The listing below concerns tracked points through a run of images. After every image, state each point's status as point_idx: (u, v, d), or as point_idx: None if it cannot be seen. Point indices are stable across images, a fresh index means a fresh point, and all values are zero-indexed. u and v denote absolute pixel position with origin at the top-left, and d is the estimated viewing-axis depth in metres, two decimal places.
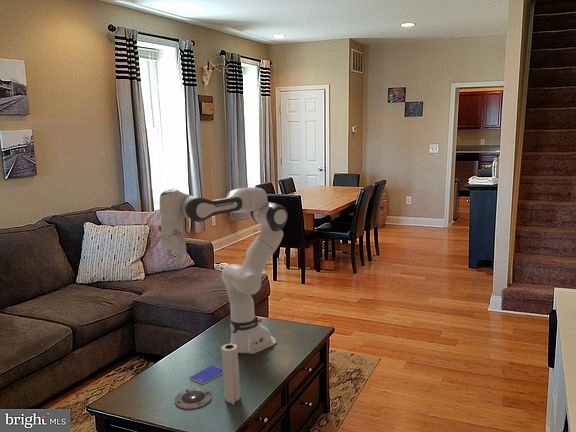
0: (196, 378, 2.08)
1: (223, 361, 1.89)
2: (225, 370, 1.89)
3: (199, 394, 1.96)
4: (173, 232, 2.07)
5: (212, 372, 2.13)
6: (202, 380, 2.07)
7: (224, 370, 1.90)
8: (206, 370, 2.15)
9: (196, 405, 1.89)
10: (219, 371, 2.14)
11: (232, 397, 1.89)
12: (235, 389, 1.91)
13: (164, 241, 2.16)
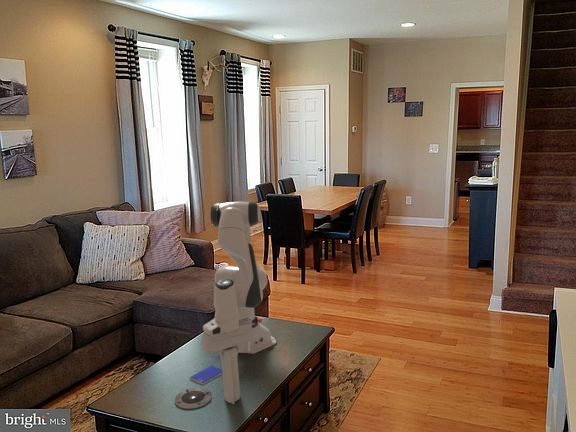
0: (196, 378, 2.08)
1: (222, 361, 1.89)
2: (224, 370, 1.89)
3: (199, 394, 1.96)
4: None
5: (212, 372, 2.13)
6: (202, 380, 2.06)
7: (223, 370, 1.89)
8: (206, 370, 2.15)
9: (196, 405, 1.89)
10: (219, 371, 2.14)
11: (231, 397, 1.89)
12: (235, 389, 1.91)
13: (215, 344, 1.84)
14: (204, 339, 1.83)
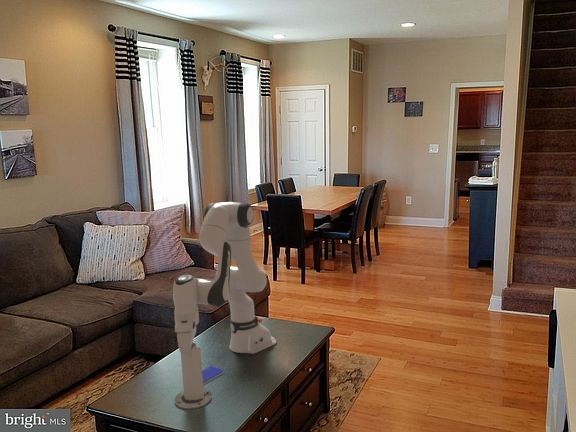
0: None
1: (188, 361, 1.88)
2: (191, 369, 1.89)
3: None
4: None
5: (212, 372, 2.13)
6: None
7: (190, 369, 1.89)
8: (206, 370, 2.15)
9: (196, 405, 1.89)
10: (219, 371, 2.14)
11: (200, 392, 1.92)
12: None
13: None
14: (185, 338, 1.80)
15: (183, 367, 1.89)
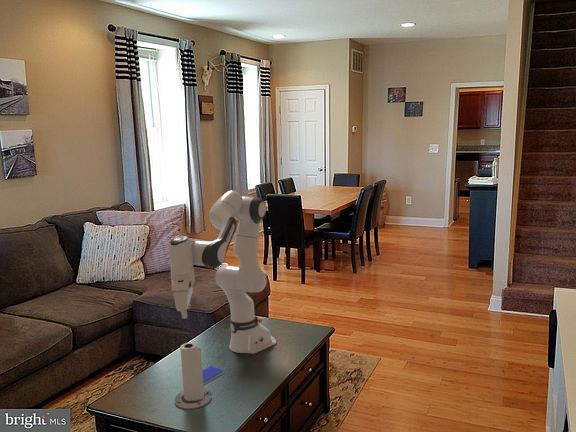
0: None
1: (188, 361, 1.88)
2: (192, 369, 1.89)
3: None
4: None
5: (212, 372, 2.13)
6: None
7: (190, 370, 1.89)
8: (206, 370, 2.15)
9: (196, 405, 1.89)
10: (219, 371, 2.13)
11: (200, 392, 1.91)
12: None
13: (187, 299, 1.88)
14: (182, 297, 1.84)
15: (183, 367, 1.89)
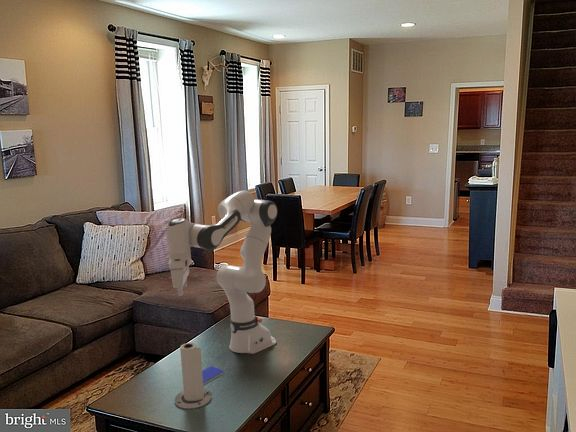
0: None
1: (188, 361, 1.88)
2: (192, 369, 1.89)
3: None
4: None
5: (212, 372, 2.13)
6: None
7: (190, 370, 1.89)
8: (206, 370, 2.15)
9: (196, 405, 1.89)
10: (219, 371, 2.13)
11: (200, 393, 1.91)
12: None
13: (183, 277, 2.00)
14: (178, 274, 1.95)
15: (183, 367, 1.89)
